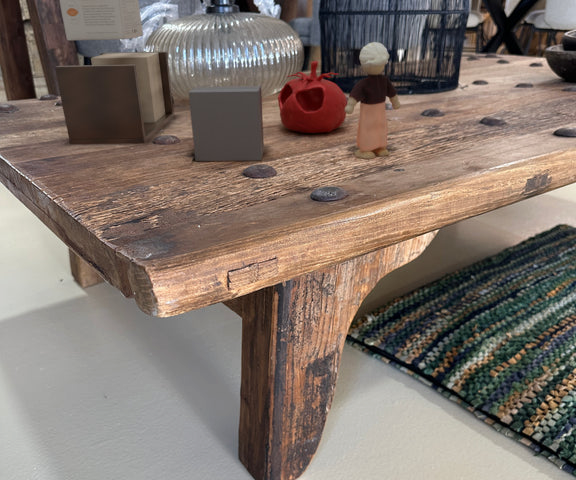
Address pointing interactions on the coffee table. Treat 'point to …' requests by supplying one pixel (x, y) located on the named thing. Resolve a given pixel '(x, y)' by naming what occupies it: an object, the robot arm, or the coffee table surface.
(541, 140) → the coffee table surface
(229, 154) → the matte grey upright block
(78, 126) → the book rack
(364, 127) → the grandmother figurine
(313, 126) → the hollow red tomato
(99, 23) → the small box
